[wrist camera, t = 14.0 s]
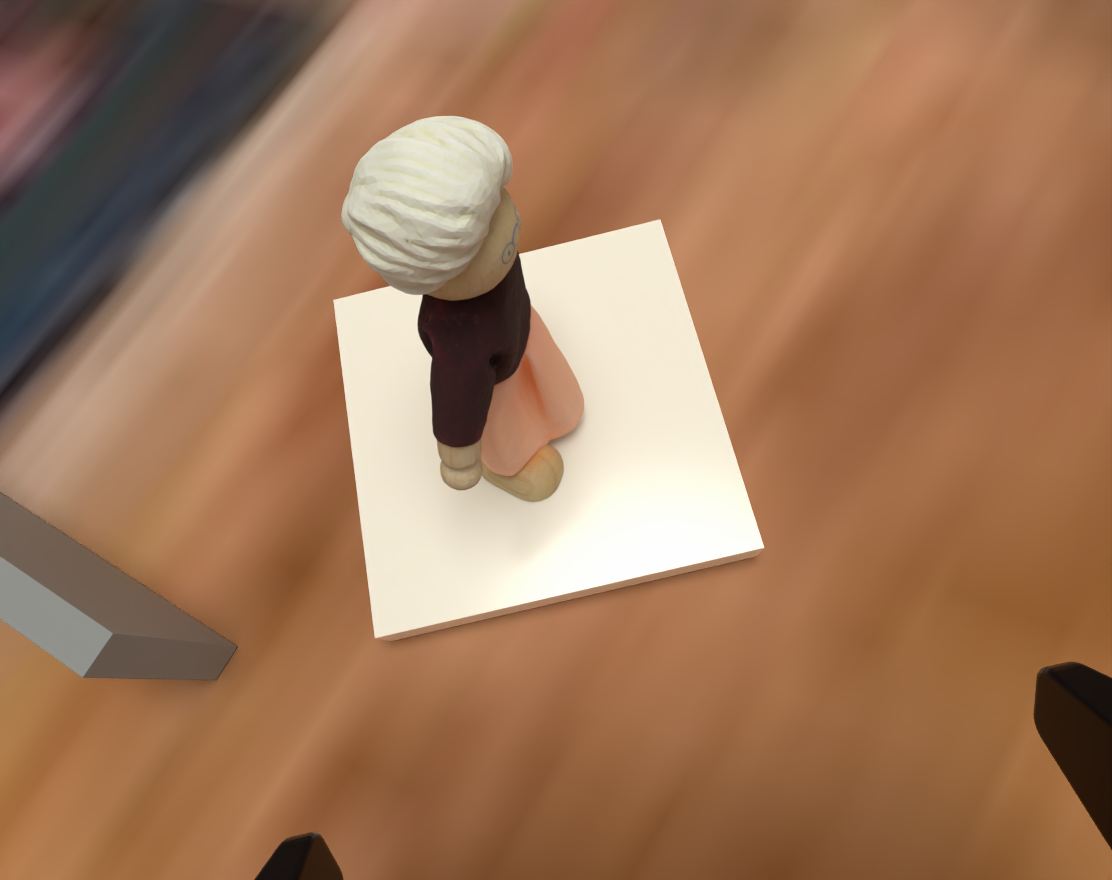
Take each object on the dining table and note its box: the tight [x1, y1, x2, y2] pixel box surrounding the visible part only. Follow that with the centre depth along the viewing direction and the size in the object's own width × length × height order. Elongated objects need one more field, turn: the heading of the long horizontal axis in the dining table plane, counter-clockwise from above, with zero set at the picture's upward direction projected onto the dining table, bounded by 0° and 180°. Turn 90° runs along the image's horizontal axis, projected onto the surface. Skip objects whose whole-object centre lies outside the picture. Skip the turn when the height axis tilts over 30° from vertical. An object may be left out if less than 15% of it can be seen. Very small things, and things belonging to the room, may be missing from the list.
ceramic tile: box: [334, 220, 764, 641], centre depth 24 cm, size 12×12×2 cm
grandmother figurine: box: [341, 116, 584, 502], centre depth 18 cm, size 8×4×13 cm, turn 4°
